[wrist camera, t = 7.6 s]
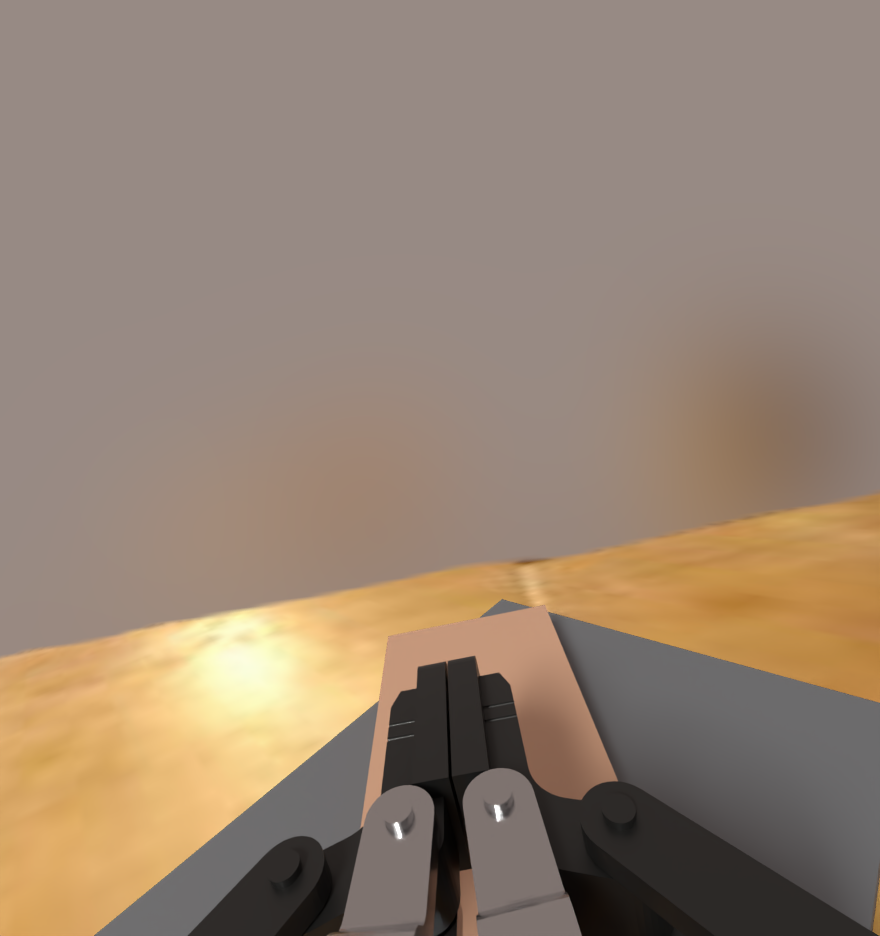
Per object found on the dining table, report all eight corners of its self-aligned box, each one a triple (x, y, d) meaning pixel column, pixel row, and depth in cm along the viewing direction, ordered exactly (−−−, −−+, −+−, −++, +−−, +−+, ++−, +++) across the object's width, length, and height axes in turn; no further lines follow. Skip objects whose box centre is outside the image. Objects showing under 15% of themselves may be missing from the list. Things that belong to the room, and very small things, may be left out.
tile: (362, 1035, 13) (398, 673, 26) (682, 981, 12) (551, 643, 26) (339, 973, 12) (388, 636, 26) (673, 915, 12) (544, 605, 25)
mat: (503, 608, 31) (502, 599, 31) (900, 722, 18) (900, 708, 18) (101, 948, 17) (94, 935, 17) (645, 2625, 4) (637, 2641, 4)
